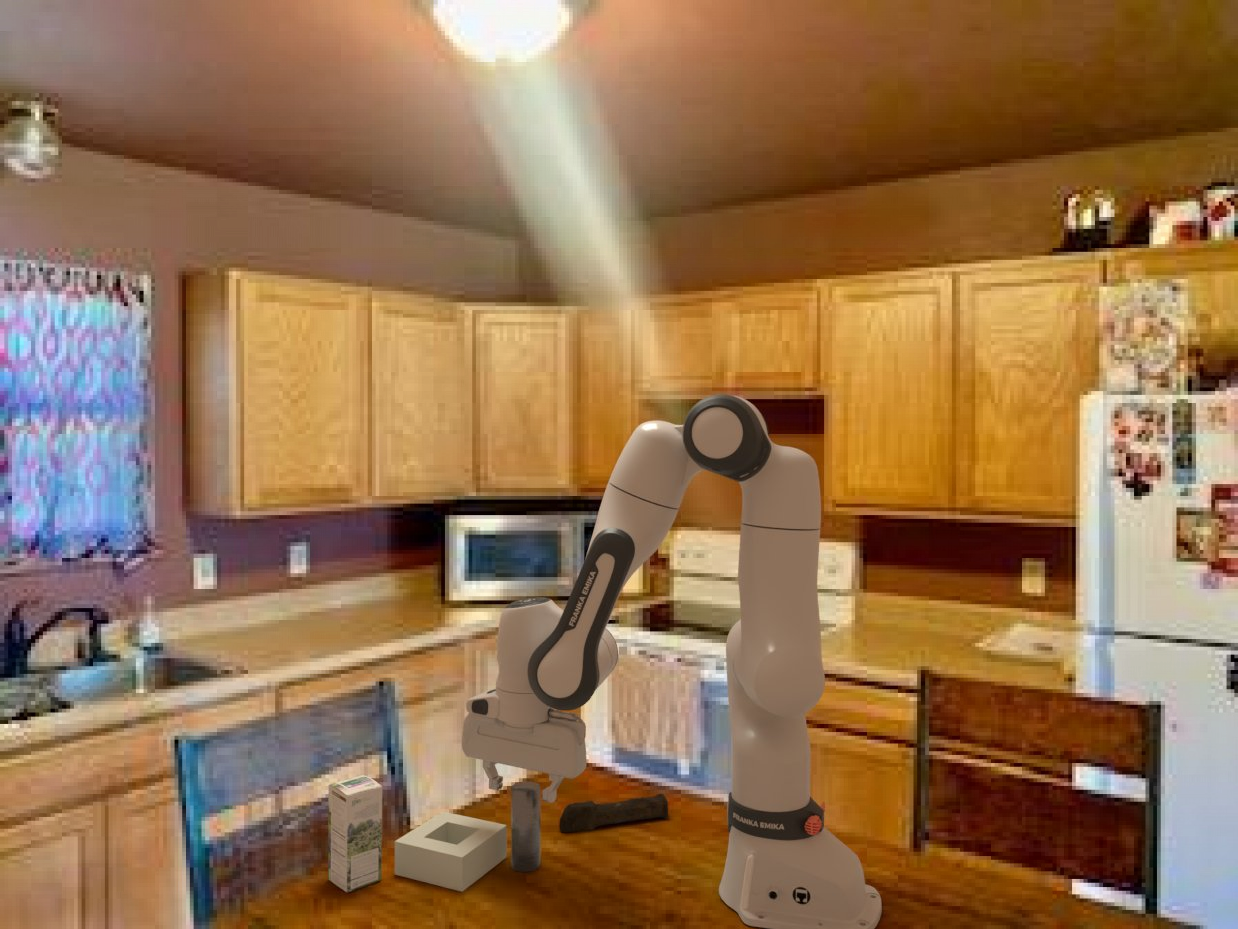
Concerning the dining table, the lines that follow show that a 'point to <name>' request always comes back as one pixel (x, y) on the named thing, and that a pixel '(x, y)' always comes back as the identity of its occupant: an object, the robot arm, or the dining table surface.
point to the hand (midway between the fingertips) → (522, 794)
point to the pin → (525, 826)
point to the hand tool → (611, 813)
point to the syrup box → (354, 833)
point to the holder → (451, 850)
